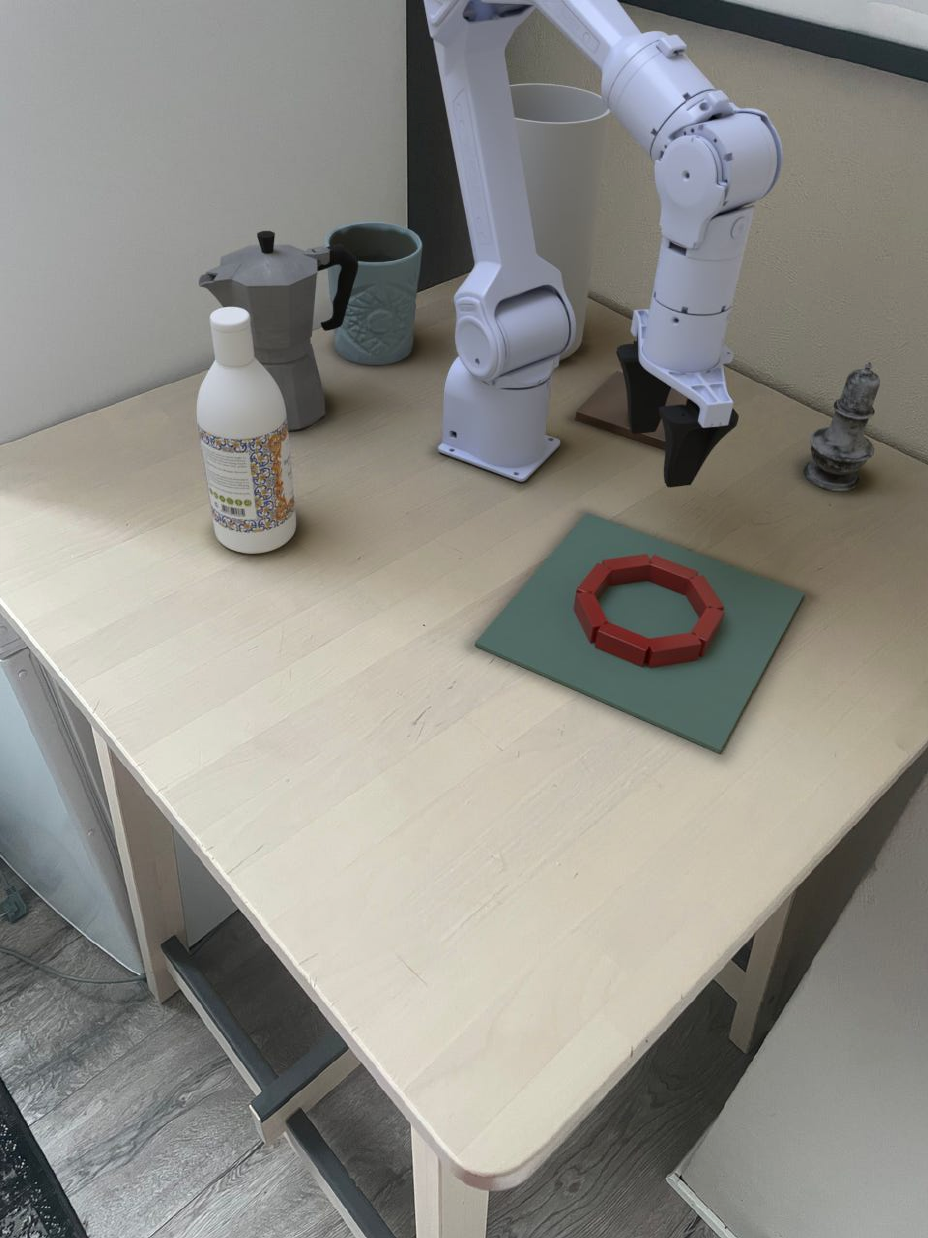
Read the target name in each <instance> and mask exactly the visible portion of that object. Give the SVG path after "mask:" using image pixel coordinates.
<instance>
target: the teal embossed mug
mask: <svg viewBox="0 0 928 1238" xmlns="http://www.w3.org/2000/svg"><path fill="white" fill-rule="evenodd" d="M323 243H324V247H328V246H332V245H337V244H341V245H343V246H344V247H345V248H346V249H347V250H348V251H349V252H350V253H351V254H352V255H353V256H355V257H356V259H357V261H358V271H357V274H356V277H355V281H354V284H353V288H352V292H351V296H350V299H349V302H348V306H347V310H346V314H345V317H344V321H343V324H342V326H341V327H339V328H336V329H333V337H334V338H333V339H334V340H333V341H334V346H335V350H336V352H337V353H338V354H339V356H341V357H342V358H343V359H345V360H346V361H349V362H352V363H355V364H359V365H365V366H385V365H390V364H394V363H397V362H401V361H402V360H404V359H405V358H407V357H408V356H409V355H410V354H411V352H412V349H413V345H414V326H415V316H416V309H417V301H416V300H417V295H418V285H419V278H420V273H421V262H422V255H423V242H422V240H421V238H420V236H419V234H417V233H416V232H415V231H413V230H411V229H409V228H407V227H405V226H403V225H400V224H395V223H391V222H382V221H357V222H352V223H347V224H344V225H340V226H337V227H335V228H333V229H332V230H331V231H329V232H328V233H327V235H326V236H325V238H324V242H323ZM326 270H327V279H328V290H329V292H328V293H329V300H330V302H331V317H332V316H333V300H334V298H335V295H336V293H337V286H338V277H339V273H340V271H341V266H340V265H334V266H332V267H329V268H327V269H326Z"/></svg>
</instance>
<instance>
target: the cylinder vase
mask: <svg viewBox="0 0 928 1238" xmlns="http://www.w3.org/2000/svg"><path fill="white" fill-rule="evenodd" d="M509 85H510V91H511V98H512V104H513V110H514V116H515V123H516V129H517V135H518V141H519V148H520V154H521V160H522V166H523V173H524V179H525V185H526V191H527V198H528V204H529V210H530V216H531V223H532V229H533V235H534V241H535V248H536V253H537V255H538V256H540V257H541V258H542V259H544V260H545V261H547V262H548V263H550V264H551V265H553V266H554V267H556V268H557V269H558V270H559V271H560V272H561V276H562V282H563V287H564V291H565V293H566V296H567V298H568V300H569V302H570V304H571V306H572V308H573V311H574V315H575V320H576V334H575V339H574V342H573V344H572V346H571V347H570V348H569V349H568V350H567V351H566V352H565V353H562V354H560V357H559V362H560V361H562V360H566V359H567V358H569V357H571V356H572V355H573V354H575V352H576V351H577V350H578V349H579V348H580V346H581V344H582V342H583V337H584V336H583V335H584V328H585V320H586V319H585V318H586V312H587V305H588V295H589V287H590V281H591V272H592V264H593V257H594V248H595V241H596V234H597V226H598V218H599V211H600V210H599V209H600V201H601V194H602V186H603V178H604V171H605V163H606V162H605V161H606V157H607V156H606V154H607V147H608V140H609V139H608V138H609V131H610V124H611V115H612V112H611V111H610V110H609V109H608V107H607V106H606V105H605V104H604V102H603V100H602V95H600V94H598V93H595V92H593V91H589V90H587V89H584V88H578V87H575V86H570V85H562V84H553V83H517V84H509ZM473 265H474V266H475V263H473ZM474 266H473V267H474ZM524 292H525V291H524ZM524 292H521V293H524ZM521 293H518V294H521ZM518 294H515V295H518ZM515 295H512V296H515ZM512 296H509V297H512ZM509 297H506V298H509ZM506 298H504V299H506Z"/></svg>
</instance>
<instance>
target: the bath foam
mask: <svg viewBox="0 0 928 1238" xmlns="http://www.w3.org/2000/svg"><path fill="white" fill-rule="evenodd" d="M209 326H210V332H211V340H212V346H213V353H214V358H215V359H214V361H213V363H212V365H211V366H210V367H209V369H208V372H207V373H206V375H205V376H204V379H203V381H202V383H201V385H200V388H199V391H198V394H197V400H196V421H197V423H196V424H197V425H196V426H197V429H198V430H197V432H198V437H199V443H200V449H201V456H202V463H203V467H204V468H203V469H204V474H205V475H204V476H205V481H206V488H207V492H208V500H209V507H210V512H211V517H212V522H213V523H212V524H213V529H214V534H215V537H216V538H217V540H218V541H219V542H220V543H221V544H222V545H223V546H224V547H225V548H227V549H229V550H232V551H233V552H237V553H242V554H250V555H251V554H252V555H253V554H255V555H256V554H265V553H268V552H272V551H275V550H277V549H279V548H281V547H283V546H284V545H286V544H287V543H288V541H290V540H291V539H292V537H293V536H294V534H295V532H296V528H297V515H296V503H295V492H294V480H293V469H292V459H291V458H292V457H291V446H290V436H289V431H288V423H287V412H286V408H285V403H284V399H283V396H282V394H281V391H280V389H279V387H278V385H277V384H276V382H275V380H274V379H273V378H272V376H271V375H270V374H269V373H268V371H267V370H266V369H265V368H264V367H263V366H262V365H261V364H260V362H259V361H258V360H257V359H256V358H255V357H254V347H253V338H252V332H251V325H250V315H249V313H248V312H247V311H246V310H244V309H242V308H238V307H220V308H217V309H215V310H214V311H212V312H211V314H210V315H209Z"/></svg>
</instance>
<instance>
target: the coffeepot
mask: <svg viewBox="0 0 928 1238" xmlns="http://www.w3.org/2000/svg"><path fill="white" fill-rule="evenodd" d="M256 233H257V235H256V236H257V240H258V244H250V245H246V246H244V247H242V248H239V249H236V250H235V251H231V252H229V253H227V254H224V255H222V256H220V263H219V265H217V266H216V267H214V268H211V269H208V270H207V271H205V273H203V274H201V275H200V277H199V278H198V286H199V287H201V288H204V289H207V290H208V291H209V292H210V294H212V296H214V297H215V299H216V300H217V301H218V302H219V304H220V305H221V306H222V308H224V307H238V308H242V309H244V310H246V311H247V312H248V313H249V315H250V325H251V332H252V338H253V347H254V357H255V358H256V359H257V360H258V361H259V362H260V364H261V365H262V366H263V367H264V368H265V369H266V370H267V371H268V373H269V374H270V375H271V376H272V378H273V379H274V380H275V382H276V384H277V385H278V387H279V389H280V391H281V394H282V396H283V399H284V403H285V408H286V412H287V423H288V432H293V431H299V430H301V429H304V428H307V427H310V426H312V425H313V424H315V423H317V422H318V421H319V420H320V419H321V418H322V417H323V416H325V415H326V401H325V400H326V399H325V392H324V388H323V384H322V380H321V376H320V371H319V367H318V364H317V359H316V354H315V351H314V347H313V344H312V342H311V338H312V337H313V328H314V326H313V325H314V316H315V315H314V314H315V303H316V289H317V281H318V280H317V279H318V274H319V273H318V272H320V271H324V270H328V269H327V268H329V267H332V266H334V265H340V266H341V271H340V273H339V277H338V286H337V293H336V295H335V298H334V300H333V316H332V315H331V317H330V318H329V319H328V320H325V321H321V322H320V326H321V328H322V330H323V331H325V332H327V331H332V330H333V331H334V329H336V328H339V327H341V326H342V324H343V321H344V317H345V314H346V310H347V306H348V302H349V299H350V296H351V292H352V288H353V284H354V281H355V277H356V274H357V271H358V261H357V259H356V257H355V256H353V255H352V254H351V253H350V252H349V251H348V250H347V249H346V248H345V247H344V246H343V245H341V244H337V245H332V246H328V247H325V245H322V246H321V245H320V246H317V247H311V248H307V249H306V250H304V249H302V248H299V247H296V246H294V245H292V244H275V237H276V233H275V231H272V230H262V231H258V232H256Z"/></svg>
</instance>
